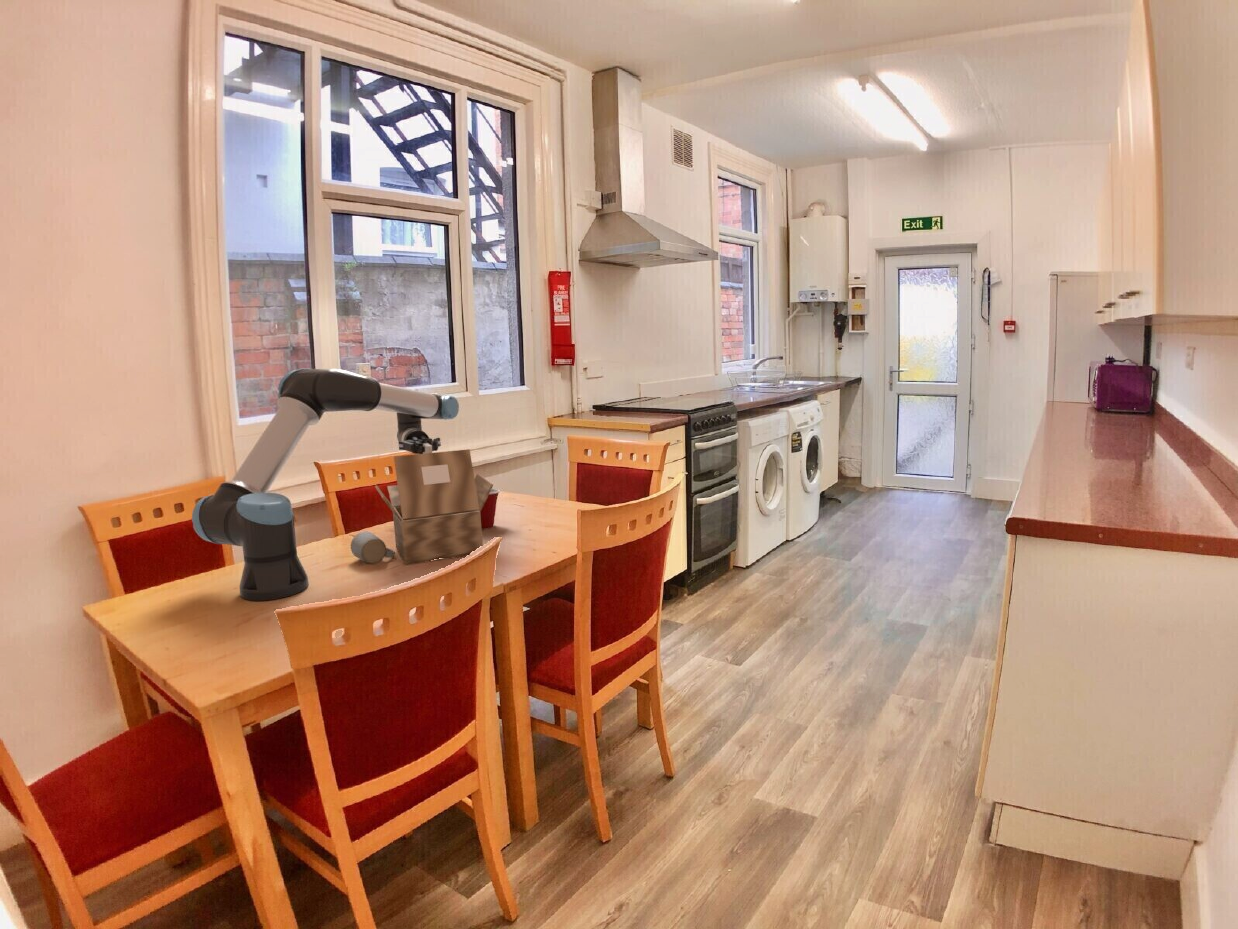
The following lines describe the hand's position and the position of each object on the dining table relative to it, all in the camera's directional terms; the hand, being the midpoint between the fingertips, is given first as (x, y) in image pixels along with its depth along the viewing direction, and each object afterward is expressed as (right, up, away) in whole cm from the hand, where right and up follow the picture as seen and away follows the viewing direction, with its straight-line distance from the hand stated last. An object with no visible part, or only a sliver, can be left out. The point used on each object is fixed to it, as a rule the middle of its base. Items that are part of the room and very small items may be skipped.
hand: (429, 450), depth 211 cm
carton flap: (+5, -9, -12) cm, 16 cm away
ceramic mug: (-12, -30, -10) cm, 34 cm away
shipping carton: (+2, -28, 0) cm, 28 cm away
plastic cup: (+12, -24, +21) cm, 34 cm away
